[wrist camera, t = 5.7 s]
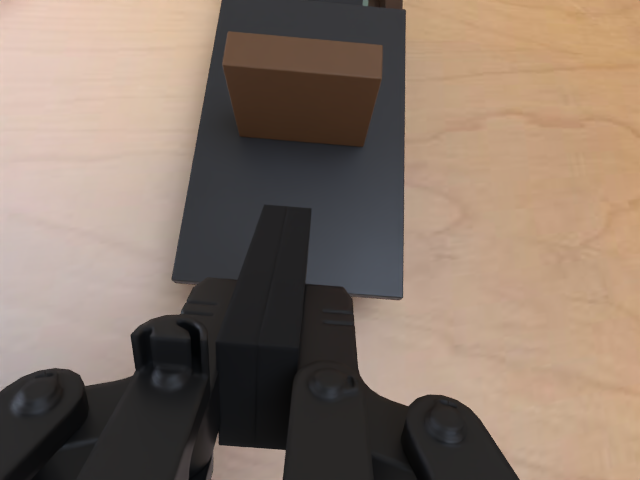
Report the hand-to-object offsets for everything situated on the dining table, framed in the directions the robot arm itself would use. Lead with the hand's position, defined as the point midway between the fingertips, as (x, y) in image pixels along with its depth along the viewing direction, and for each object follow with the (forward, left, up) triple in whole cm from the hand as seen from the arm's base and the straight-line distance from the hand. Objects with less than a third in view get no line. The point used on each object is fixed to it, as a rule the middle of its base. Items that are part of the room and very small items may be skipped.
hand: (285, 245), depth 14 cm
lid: (-7, +2, -6) cm, 9 cm away
